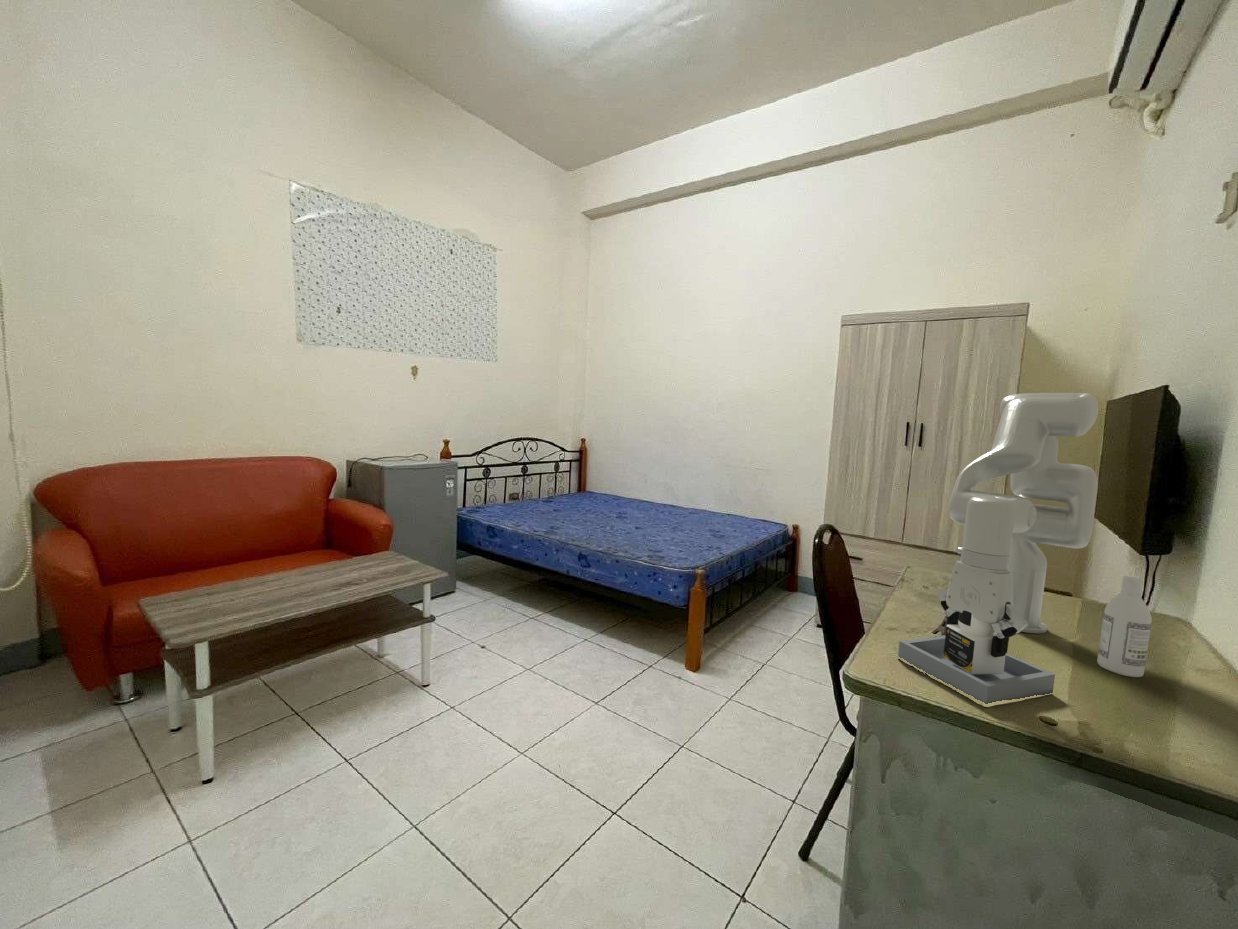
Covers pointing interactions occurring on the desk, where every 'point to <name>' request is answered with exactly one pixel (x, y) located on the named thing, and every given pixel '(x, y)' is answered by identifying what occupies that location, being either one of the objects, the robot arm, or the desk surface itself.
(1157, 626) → the desk surface
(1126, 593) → the bath foam
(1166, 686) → the desk surface
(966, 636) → the medicine bottle
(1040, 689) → the tray
